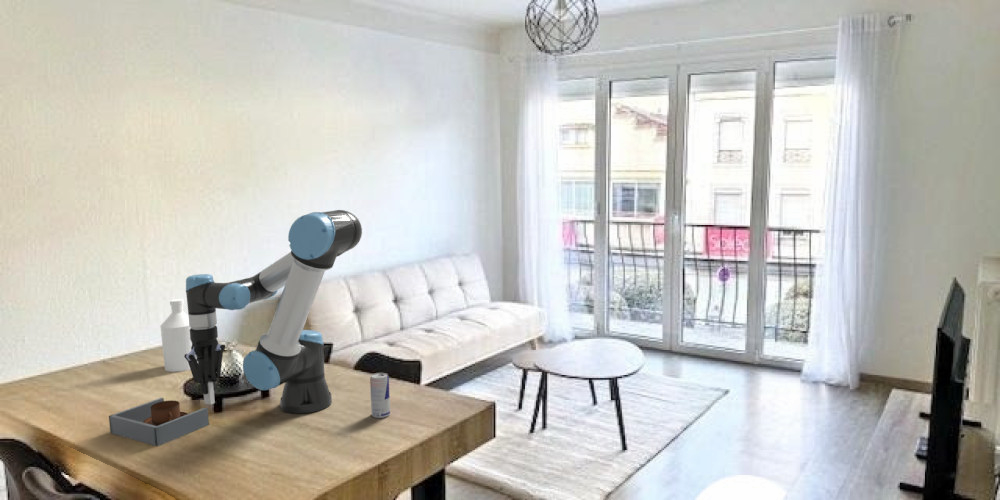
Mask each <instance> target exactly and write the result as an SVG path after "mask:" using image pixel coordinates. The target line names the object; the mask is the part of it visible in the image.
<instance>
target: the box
mask: <svg viewBox="0 0 1000 500" xmlns="http://www.w3.org/2000/svg"><path fill="white" fill-rule="evenodd" d="M162 401H165V400H164V397H159V398H156V399H154V400H150V401H147V402H145V403H142V404H138V405H136V406H133V407H130V408H128V409H125V410H121V411H118V412H116V413H114V414H110V415H108V421H109V429H110V430H109V433H110V434H112V435H116V436H119V437H123V438H127V439H130V440H134V441H138V442H141V443H144V444H148V445H150V446H151V445H152V446H155V447H159V446H161V445H164V444H167V443H169V442H171V441H174V440H177V439H178V438H181V437H183V436H185V435H189V434H190V433H193V432H196V431H198V430H200V429H203V428H205V427H207V426H209V425H210V423H209V421H210V420H209V408H208V407H202V408H200V409H197V410H195V411H193V412H189V413H188V414H187V415H184V416H182V417H179V418H177V419H174V420H172V421H169V422H166V423H164V424H161V425H159V426H155V425H151V424H147V423H143V421H144V420H145V419H147V418H149V417H151V406H152V405H153V404H156V403H158V402H162Z"/></svg>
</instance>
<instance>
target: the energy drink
mask: <svg viewBox="0 0 1000 500" xmlns="http://www.w3.org/2000/svg"><path fill="white" fill-rule="evenodd" d="M369 383H370V407H371V409H370V410H371V416H372V417H373V418H375V419H384V418H388V417H389V416H390V415H391V401H390V399H391V398H390V397H391V396H390V377H389V374H388V373H385V372H376V373H372V374H371V375H370V377H369Z"/></svg>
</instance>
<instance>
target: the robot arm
mask: <svg viewBox="0 0 1000 500" xmlns="http://www.w3.org/2000/svg"><path fill="white" fill-rule="evenodd" d="M362 235H363V227H362V224H361V222H360V220H359V219H358V217H357V216H356V215H355V214H353V213H352V212H351V211H348V210H343V209H336V210H330V211H323V212H320V211H319V212H318V211H315V212H314V211H313V212H309V213H307V214H304V215H301V216H299V217H298V218H297V219H295V220H294V222H293V223H292V224H291V226H290V228H289V231H288V237H287V239H288V242H289V243H290V244H289V248H290V252H288V253H287V254H285V255H284V256H282V257H280V258H279V259H277V260H276V261H275V262H273V263H271V264H269V266H267V267H265V268H264V269H262V270H261V271H260V272H258V273H256V274H254V275H253V276H251V277H246V278H243V279H238V280H234V281H230V282H215V280H214V275H212V274H209V273H202V274H201V273H200V274H192V275H189V276H187V278H186V279H185V293H186V302H187V305H186V306H187V312H188V313H187V315H188V317H189V326H190V327H191V329H190V340H191V342H192V347H191V351H190V352H189V354H185V356H184V357H185V358H186V360H187V361H188V363H189V366H190V369H191V370H190V372H191V375H192V378H193V382H194V383H195V384H200V388H201V389H200V391H201V394H202V395H203V402H204V404H206V405H213V404H215V403H216V401H215V391H216V382H217V381H218V378H220V377H221V372H222V366H223V365H222V364H223V353H224V351H225V349H226V345H225V344H221V343H219V340H218V326H217V324H218V322H217V321H218V320H217V310H216V309H221V310H230V311H234V310H239V311H240V310H242V309H245V308H246V307H247V306H248V305H249V304H251V303H255V302H259V301H265V300H268V299H270V298H272V297H274V296H275V295H276V294H277V293H278V291H279V290H280V289H282V288H283V290H282V293H281V295H280V298H279V300H278V304H277V307H276V310H275V312H274V315H273V318H272V321H271V324H270V326H269V328H268V331H267V332H264V333H263V334H261V335H260V337H259V339H258V342H257V345H256V348H255V349H254V350H251V351H249V352H248V353H247V354H246V355H245V356H244V357H243V362H242V371H243V374H244V375H245V378H246V380H247V381H248V383H249V385H251V386H252V387H254V388H256V389H257V390H260V391H268V390H272V389H276V388H277V387H279V386H281V385H284V386H283V390H282V393H281V398H280V401H279V405H280V409H281V411H282V412H285V413H288V414H308V413H315V412H318V411H321V410H324V409H326V408H328V407H329V406H331V405H332V402H333V399H332V398H333V397H332V393H331V391H330V389H329V386H328V383H327V381H326V377H325V374H326V373H325V356H324V340H323V335H322V333H321V332H319V331H318V330H312V329H311V330H310V329H304V327H305V325H306V322H307V319H308V316H309V314H310V311H311V309H312V306H313V303H314V301H315V299H316V296H317V294H318V291H319V287H320V286H321V283H322V279H323V277H324V274H325V272H326V271H329V270H331V269H332V268H333V267H334V264H335V261H336V259H337V257H339V256H341V255H343V254H345V253H346V252H349V251H350V250H352V249H354V248H355V247H356V246H357V245H358V244H359V243H360V241H361V239H362V237H363V236H362ZM195 355H196V356H195ZM196 358H197V360H196ZM197 361H198V362H197Z"/></svg>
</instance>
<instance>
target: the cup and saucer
mask: <svg viewBox="0 0 1000 500" xmlns="http://www.w3.org/2000/svg"><path fill="white" fill-rule="evenodd" d="M187 414H189V413H187V412H186V411H181V408H180V402H179V401H178V400H164V401H162V402H158V403H156V404H153V405H152V406H151V417H149V418H147V419H145V420H144V421H143V423H147V424H151V425H155V426H159V425H161V424H164V423H166V422H169V421H172V420H174V419H177V418H179V417H182V416H184V415H187Z"/></svg>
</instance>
